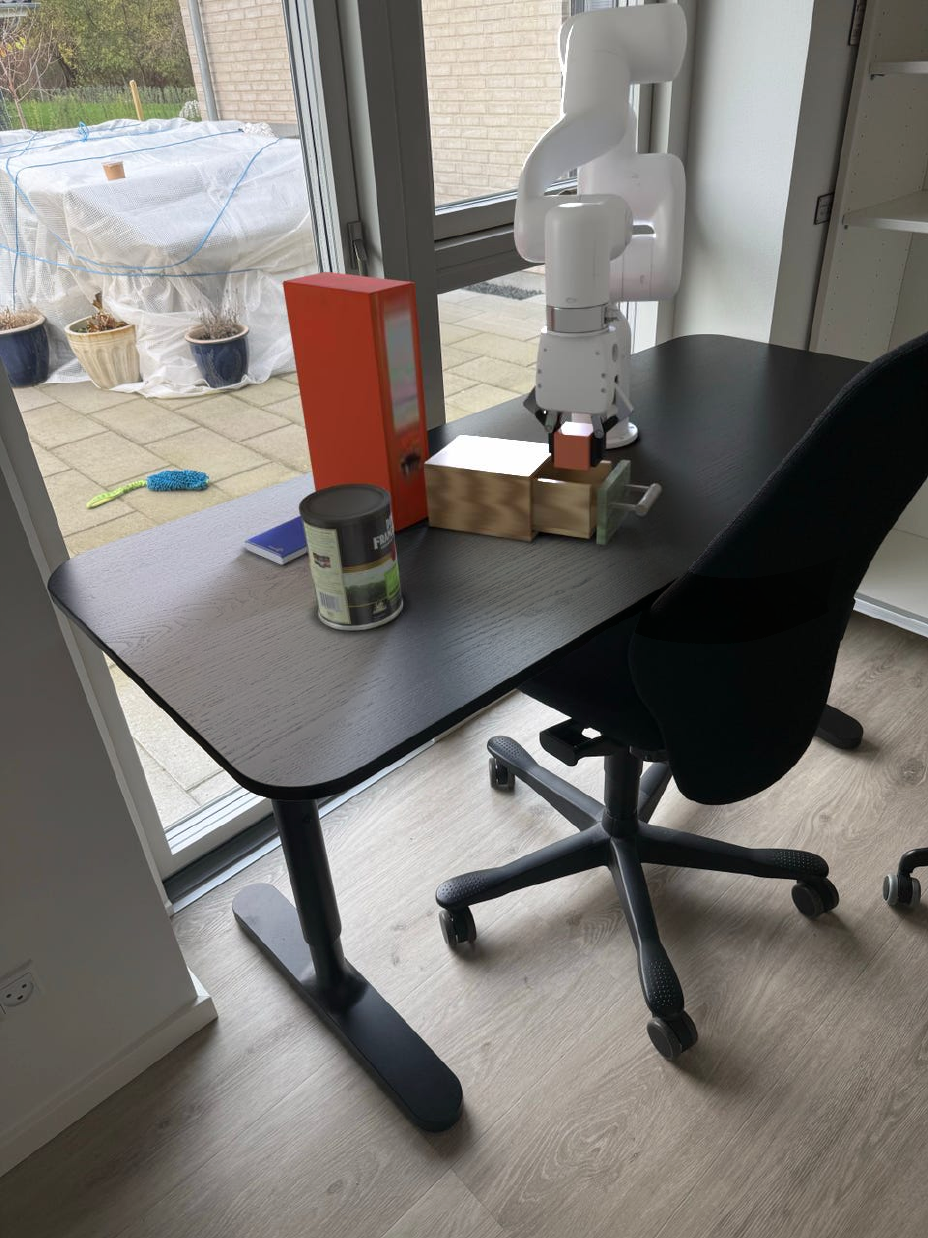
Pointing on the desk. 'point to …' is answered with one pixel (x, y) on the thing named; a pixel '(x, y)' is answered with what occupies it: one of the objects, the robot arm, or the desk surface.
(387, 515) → the coffee can
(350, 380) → the file binder
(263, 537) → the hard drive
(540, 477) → the drawer
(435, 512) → the cabinet
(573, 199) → the robot arm
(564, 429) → the block
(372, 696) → the desk surface
